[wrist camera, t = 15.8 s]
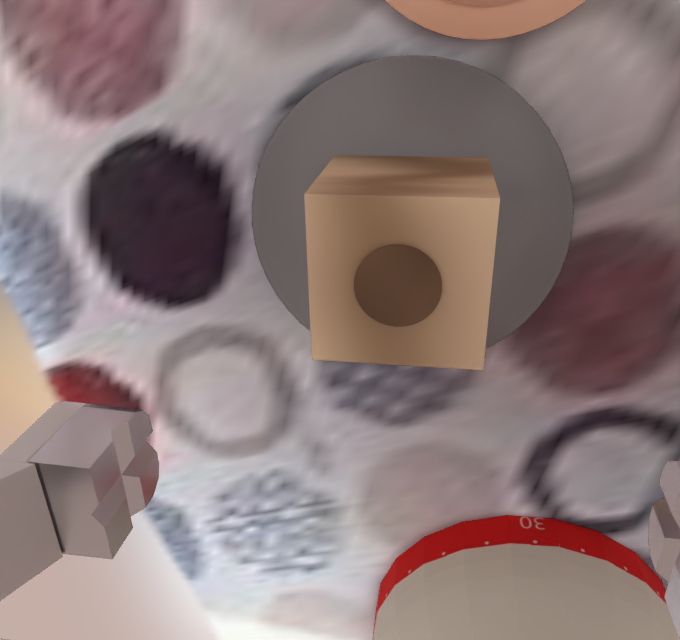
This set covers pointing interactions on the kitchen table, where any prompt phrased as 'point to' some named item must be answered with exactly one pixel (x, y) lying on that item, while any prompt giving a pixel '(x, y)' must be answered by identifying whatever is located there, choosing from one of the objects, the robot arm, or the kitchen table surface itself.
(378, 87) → the coaster
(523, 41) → the kitchen table surface
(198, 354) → the kitchen table surface
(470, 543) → the kitchen timer
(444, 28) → the ramekin
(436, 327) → the oak block
